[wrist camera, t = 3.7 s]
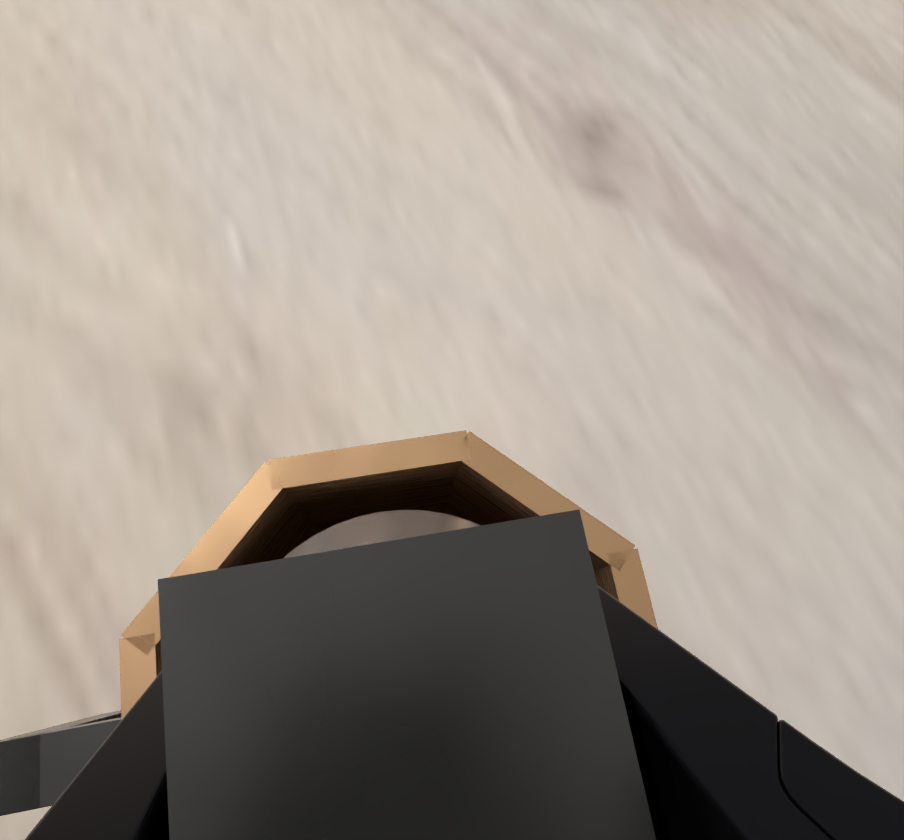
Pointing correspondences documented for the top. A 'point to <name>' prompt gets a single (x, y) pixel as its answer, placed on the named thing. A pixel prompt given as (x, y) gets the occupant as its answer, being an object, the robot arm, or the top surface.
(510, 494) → the octagonal wooden mug
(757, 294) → the top surface
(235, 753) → the grey cube on disc
